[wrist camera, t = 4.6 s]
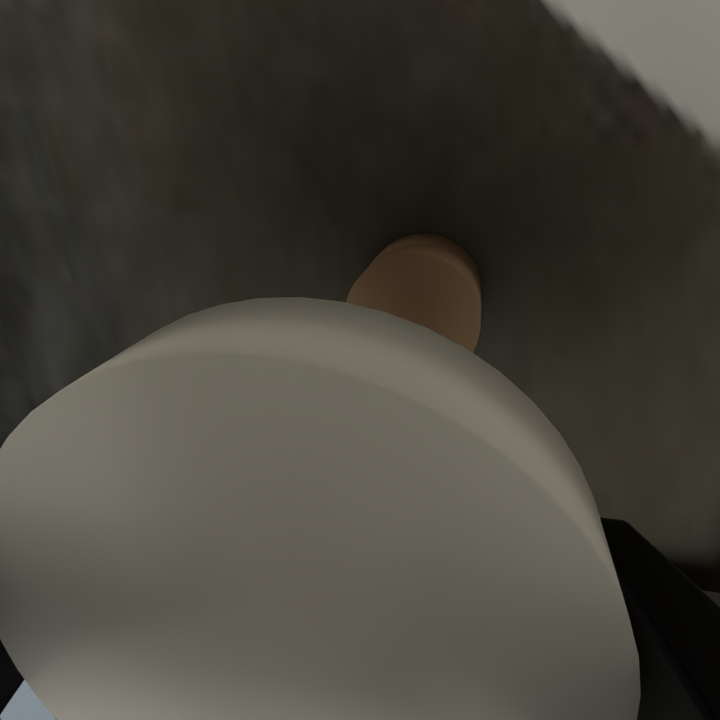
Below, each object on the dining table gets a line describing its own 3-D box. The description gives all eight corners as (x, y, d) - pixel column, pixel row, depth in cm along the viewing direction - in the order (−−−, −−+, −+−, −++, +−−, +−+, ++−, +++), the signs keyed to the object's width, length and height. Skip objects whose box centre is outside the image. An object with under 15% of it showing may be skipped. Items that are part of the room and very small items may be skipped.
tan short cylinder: (485, 234, 18) (485, 256, 15) (477, 347, 20) (476, 390, 16) (365, 232, 19) (341, 252, 16) (367, 341, 20) (345, 380, 17)
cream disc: (658, 311, 5) (727, 385, 4) (563, 781, 8) (581, 929, 6) (16, 284, 7) (-118, 329, 5) (124, 692, 9) (57, 798, 8)
